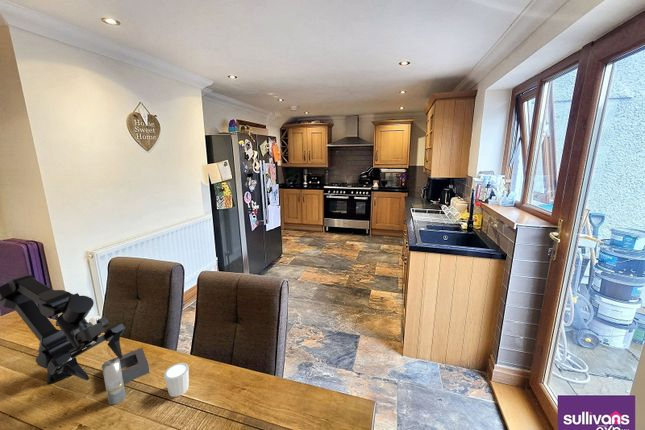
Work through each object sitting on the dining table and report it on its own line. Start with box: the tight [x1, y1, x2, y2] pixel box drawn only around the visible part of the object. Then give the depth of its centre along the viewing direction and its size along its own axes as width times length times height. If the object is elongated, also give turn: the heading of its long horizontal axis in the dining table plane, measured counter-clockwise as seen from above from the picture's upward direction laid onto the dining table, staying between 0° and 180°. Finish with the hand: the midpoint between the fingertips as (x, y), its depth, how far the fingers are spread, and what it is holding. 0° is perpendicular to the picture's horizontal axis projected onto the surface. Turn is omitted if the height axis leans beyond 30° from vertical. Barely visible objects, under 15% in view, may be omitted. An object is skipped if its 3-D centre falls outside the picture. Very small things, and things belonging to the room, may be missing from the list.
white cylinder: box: [163, 362, 190, 398], centre depth 86 cm, size 7×7×7 cm
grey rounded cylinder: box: [101, 357, 126, 406], centre depth 82 cm, size 4×4×12 cm
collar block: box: [105, 347, 150, 385], centre depth 93 cm, size 11×11×4 cm
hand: (105, 368), depth 82 cm, fingers open, 9 cm apart
